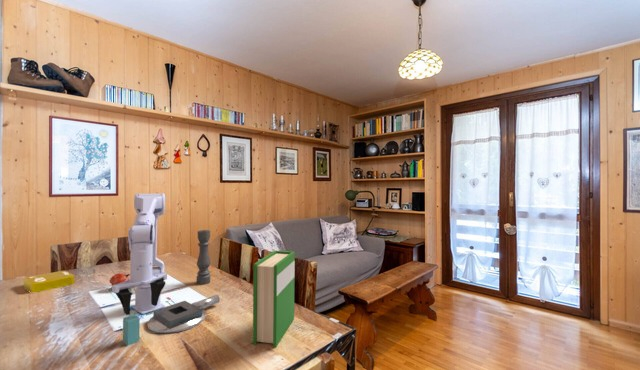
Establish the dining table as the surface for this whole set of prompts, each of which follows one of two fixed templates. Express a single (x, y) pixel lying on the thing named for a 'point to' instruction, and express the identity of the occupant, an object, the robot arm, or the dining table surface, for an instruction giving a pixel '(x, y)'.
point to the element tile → (49, 281)
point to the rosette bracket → (180, 316)
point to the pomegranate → (118, 278)
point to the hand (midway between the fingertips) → (141, 309)
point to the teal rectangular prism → (131, 329)
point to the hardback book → (273, 296)
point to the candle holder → (203, 258)
